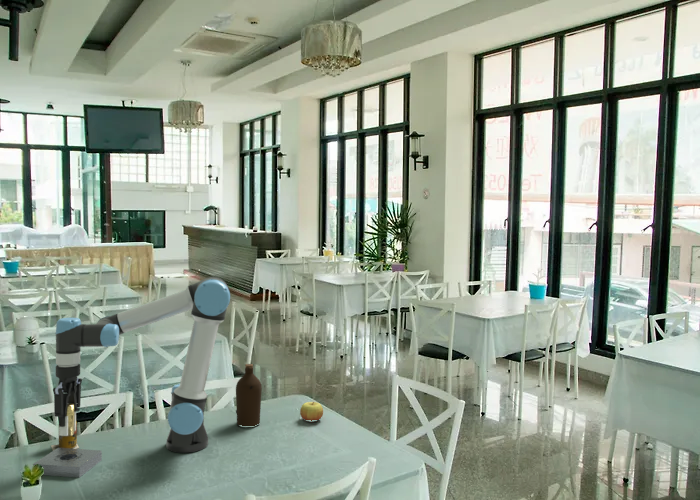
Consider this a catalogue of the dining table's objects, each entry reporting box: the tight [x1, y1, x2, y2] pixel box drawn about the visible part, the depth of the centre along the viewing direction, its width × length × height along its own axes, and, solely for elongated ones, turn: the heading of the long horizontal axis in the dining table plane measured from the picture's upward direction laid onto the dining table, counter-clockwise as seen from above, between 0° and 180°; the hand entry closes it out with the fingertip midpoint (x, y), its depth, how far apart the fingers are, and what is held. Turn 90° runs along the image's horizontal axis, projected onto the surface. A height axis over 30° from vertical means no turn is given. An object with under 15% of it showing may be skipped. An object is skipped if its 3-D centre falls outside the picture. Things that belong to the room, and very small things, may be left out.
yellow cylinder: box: [67, 403, 74, 436], centre depth 202 cm, size 4×4×10 cm
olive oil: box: [235, 363, 263, 426], centre depth 248 cm, size 11×11×25 cm
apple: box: [299, 401, 324, 421], centre depth 255 cm, size 10×10×8 cm
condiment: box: [50, 421, 80, 451], centre depth 220 cm, size 7×8×12 cm
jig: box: [32, 448, 103, 478], centre depth 203 cm, size 16×14×4 cm
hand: (67, 432), depth 203 cm, fingers closed on yellow cylinder, 4 cm apart
